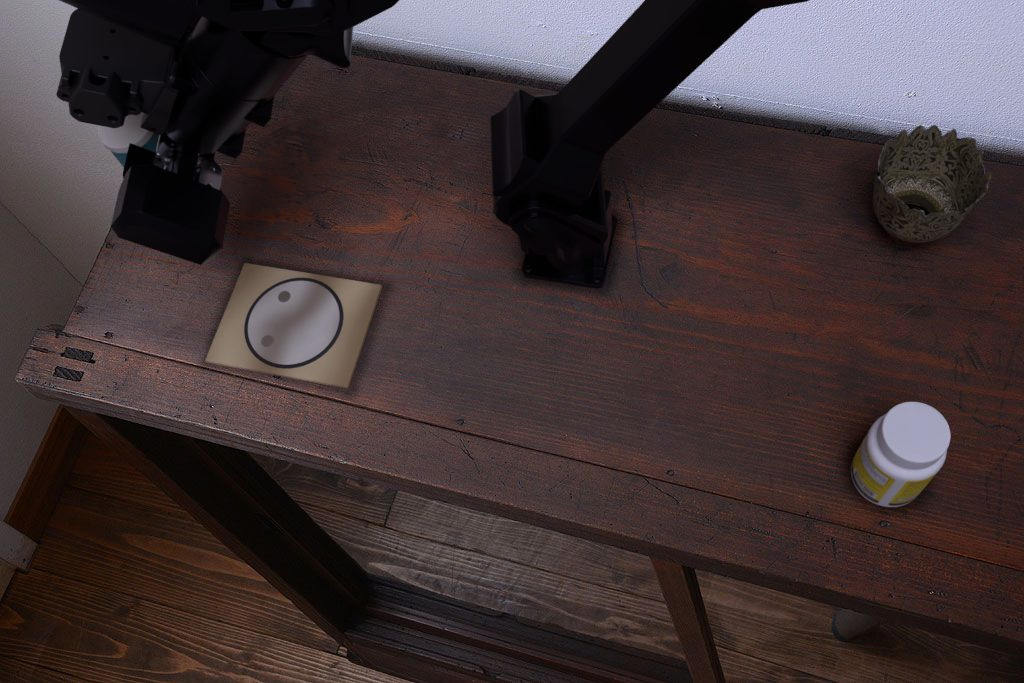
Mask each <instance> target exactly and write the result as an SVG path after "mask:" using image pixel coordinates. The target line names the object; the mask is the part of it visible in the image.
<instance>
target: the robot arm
mask: <svg viewBox="0 0 1024 683" xmlns="http://www.w3.org/2000/svg"><path fill="white" fill-rule="evenodd" d="M58 1H60V2H62V3H64V4H67V5H68V6H70V7H73V8H75V9H74V10H73V11H72V13H71V14H70V16H69V19H68V23H67V27H66V30H65V33H64V37H63V40H62V44H61V48H60V51H59V55H58V57H59V58H58V59H59V65H60V66H59V67H60V73H61V76H60V78H59V82H58V87H57V90H56V93H55V94H56V98H58V99H59V101H62V102H65V103H68V111H69V115H70V117H72V118H73V119H75V121H77V122H79V123H83V124H89V125H94V126H98V127H99V126H104V127H109V128H118V127H121V126H123V125H124V121H125V117H126V116H128V115H139V114H140V113H141V112H142V113H144V115H143V117H142V121H141V126H140V128H143V129H145V130H148V131H150V132H153V133H155V134H158V135H159V138H158V143H157V148H156V152H152V151H150V150H147V149H144V148H142V147H139V146H137V145H134V144H132V143H130V144H129V148H128V152H127V157H126V161H125V165H124V167H123V171H122V182H121V183H120V186H119V189H118V192H117V197H116V201H115V206H114V210H113V214H112V219H111V223H110V228H111V229H112V231H113V232H114V233H115V235H116V236H117V238H118V239H121V240H124V241H128V242H131V243H134V244H137V245H140V246H142V247H145V248H148V249H151V250H154V251H157V252H160V253H163V254H166V255H169V256H171V257H175V258H178V259H180V260H185V261H188V262H190V263H193V264H196V265H200V266H202V265H205V264H206V263H208V262H210V261H211V260H213V259H214V258H215V257H216V256H217V255H218V254H219V253H220V252H221V251H222V250H223V249H224V242H225V237H226V231H227V225H228V218H229V212H230V207H231V202H230V200H229V199H228V197H227V196H226V194H225V193H224V192H223V190H221V187H222V186H221V185H222V180H223V176H224V175H223V174H224V173H223V172H224V171H223V168H222V167H221V165H220V164H219V163H218V162H217V161H216V160H215V158H216V153H219V154H221V155H222V154H223V155H225V156H227V157H229V158H231V159H234V160H236V159H238V157H239V156H240V155H241V153H243V149H244V143H245V137H246V131H247V128H248V127H249V125H251V123H252V124H254V125H257V126H259V127H262V128H264V127H265V126H266V125H267V124H268V123H269V122H270V120H271V119H272V113H273V107H274V100H275V95H276V94H277V93H278V91H280V90H281V88H283V86H284V85H285V83H286V82H287V81H288V80H289V79H290V78H291V77H292V75H293V74H294V73H295V72H296V71H297V70H298V68H299V67H300V66H301V65H302V64H303V62H304V61H305V60H306V59H307V58H308V56H312V57H316V58H318V59H319V60H322V61H324V62H326V63H329V64H330V65H333V66H335V67H337V68H340V69H345V70H346V69H348V68H349V67H350V66H351V63H352V48H353V46H352V45H353V32H354V27H356V26H358V25H360V24H362V23H364V22H366V21H368V20H370V19H372V18H374V17H376V16H378V15H380V14H381V13H383V12H386V11H387V10H389V9H392V8H393V7H394V6H395V5H396V4H398V2H399V1H400V0H58ZM809 1H810V0H644V1H643V2H642V3H641V4H640V5H639V6H638V7H637V8H636V9H635V10H634V11H633V12H632V13H631V14H630V16H628V17H627V19H626V20H625V21H624V22H623V23H622V25H620V26H619V28H617V30H616V31H615V32H614V33H613V34H612V35H611V36H610V37H609V38H608V39H607V40H606V41H605V42H604V43H603V45H602V46H600V48H599V49H598V50H597V51H596V52H595V53H594V54H593V55H592V56H591V58H589V60H588V61H587V62H586V63H585V64H584V65H583V66H582V67H581V68H580V69H579V70H578V71H577V73H576V74H575V75H574V76H573V77H572V78H571V79H570V80H569V81H568V82H567V83H566V84H565V85H564V86H563V88H562V89H561V90H559V91H558V92H556V93H547V94H537V95H533V94H531V93H530V92H527V91H525V90H523V89H518V90H516V91H514V93H513V95H512V97H511V99H510V100H509V102H508V103H507V105H506V106H505V107H504V108H503V109H501V110H500V111H499V112H497V113H494V114H493V115H491V116H490V118H489V121H490V123H489V124H490V154H491V155H490V157H491V184H492V185H491V190H492V192H491V193H492V213H493V215H495V218H496V219H497V220H498V221H499V222H501V223H502V224H503V225H506V226H507V227H510V229H511V230H512V231H513V232H514V233H515V234H516V235H517V239H518V243H519V248H520V250H521V252H522V253H525V256H524V259H523V263H522V268H521V273H522V275H523V276H524V277H525V278H527V279H528V278H529V279H536V280H542V281H549V282H554V283H561V284H568V285H574V286H580V287H587V288H594V289H600V288H602V287H604V284H605V281H606V276H607V271H608V268H609V263H610V259H611V254H612V251H613V246H614V241H615V237H616V233H617V227H618V224H619V223H618V217H617V216H616V215H614V214H613V211H612V209H613V208H612V192H611V191H610V190H605V182H604V170H603V163H604V160H605V158H606V156H607V154H608V153H609V151H610V150H611V149H612V148H613V147H615V145H616V144H617V143H619V141H620V140H622V139H623V138H624V137H625V136H626V135H627V134H628V133H629V132H630V131H631V130H633V128H635V127H636V126H637V125H638V124H639V123H640V122H641V121H642V120H643V119H644V118H645V117H646V116H647V115H648V114H650V113H651V112H652V111H653V110H654V109H655V108H656V107H657V106H658V105H659V104H660V103H661V102H662V101H663V100H664V99H666V98H667V97H668V96H669V95H670V94H671V93H672V92H673V91H674V90H675V89H676V88H678V87H679V85H681V84H682V83H683V82H685V80H686V79H687V78H688V77H690V76H691V75H692V74H693V73H694V72H695V71H696V70H697V69H698V68H700V66H701V65H703V64H704V62H705V61H706V60H708V59H709V58H710V57H711V56H712V55H713V54H714V53H715V52H717V51H718V49H720V48H721V47H722V46H723V45H724V44H725V43H726V42H727V41H728V40H729V39H731V37H732V36H733V35H735V34H736V33H737V32H738V31H739V30H740V29H741V28H742V27H744V25H745V24H747V22H749V21H750V20H751V19H752V18H753V17H754V16H756V15H757V14H758V13H760V12H761V11H762V10H766V9H772V8H773V9H774V8H778V7H779V8H780V7H783V6H788V5H789V6H791V5H796V4H801V3H807V2H809ZM199 161H200V162H199ZM527 270H530V271H527ZM596 281H599V282H596Z"/></svg>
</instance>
